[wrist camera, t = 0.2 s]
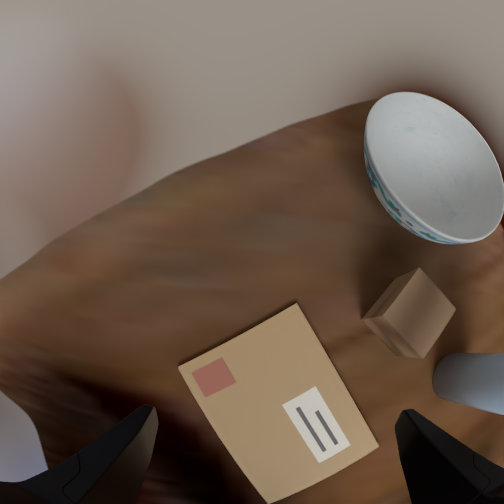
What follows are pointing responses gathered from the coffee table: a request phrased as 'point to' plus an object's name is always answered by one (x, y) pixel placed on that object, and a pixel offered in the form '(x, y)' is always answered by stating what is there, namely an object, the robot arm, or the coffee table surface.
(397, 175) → the chinaware
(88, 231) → the coffee table surface
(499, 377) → the grey cylinder
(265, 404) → the envelope
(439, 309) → the walnut block
